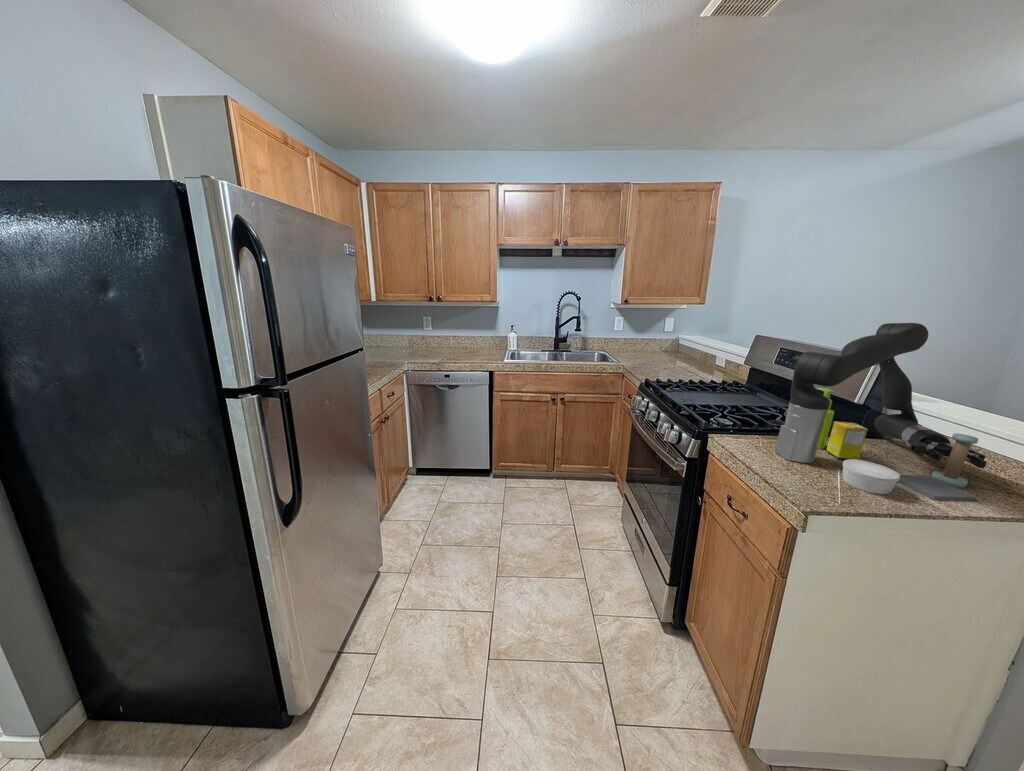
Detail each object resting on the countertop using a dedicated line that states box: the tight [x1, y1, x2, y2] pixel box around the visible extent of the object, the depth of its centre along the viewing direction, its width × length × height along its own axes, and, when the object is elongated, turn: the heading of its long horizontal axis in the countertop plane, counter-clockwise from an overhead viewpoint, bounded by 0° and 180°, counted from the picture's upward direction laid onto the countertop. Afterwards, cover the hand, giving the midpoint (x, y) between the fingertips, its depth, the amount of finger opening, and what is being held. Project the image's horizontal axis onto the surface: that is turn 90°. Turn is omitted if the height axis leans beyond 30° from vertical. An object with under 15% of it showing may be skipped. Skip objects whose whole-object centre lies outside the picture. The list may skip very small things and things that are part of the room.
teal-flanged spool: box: [930, 432, 979, 489], centre depth 100 cm, size 6×6×14 cm
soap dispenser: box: [816, 387, 835, 450], centre depth 122 cm, size 6×7×20 cm
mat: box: [897, 474, 977, 501], centre depth 97 cm, size 11×11×1 cm
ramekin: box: [842, 459, 901, 495], centre depth 97 cm, size 11×11×5 cm
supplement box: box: [825, 420, 868, 461], centre depth 114 cm, size 6×6×11 cm
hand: (961, 461), depth 98 cm, fingers open, 8 cm apart
